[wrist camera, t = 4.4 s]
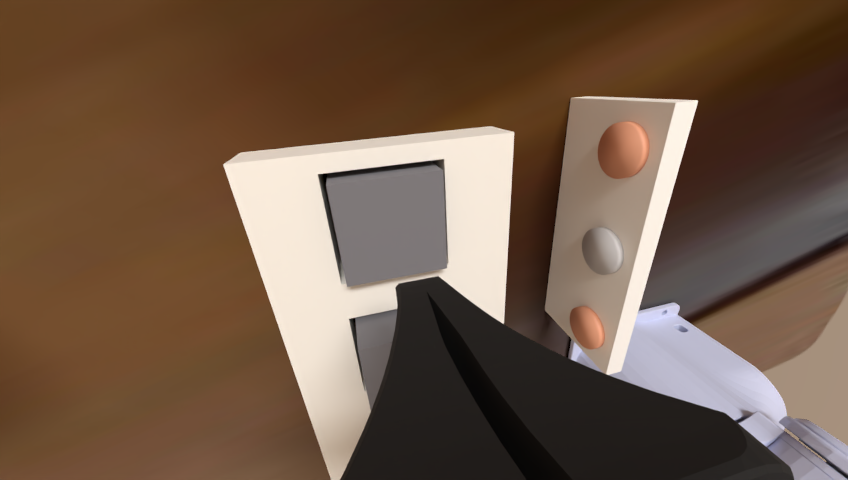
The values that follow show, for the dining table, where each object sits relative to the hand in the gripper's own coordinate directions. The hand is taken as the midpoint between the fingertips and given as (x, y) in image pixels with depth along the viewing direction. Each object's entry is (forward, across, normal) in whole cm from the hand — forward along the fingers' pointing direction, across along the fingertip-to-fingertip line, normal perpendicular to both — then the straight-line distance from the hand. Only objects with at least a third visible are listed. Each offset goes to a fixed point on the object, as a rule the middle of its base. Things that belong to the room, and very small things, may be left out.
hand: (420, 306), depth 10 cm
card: (+8, -11, +2) cm, 14 cm away
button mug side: (+8, 0, 0) cm, 8 cm away
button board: (+8, 0, +7) cm, 11 cm away
